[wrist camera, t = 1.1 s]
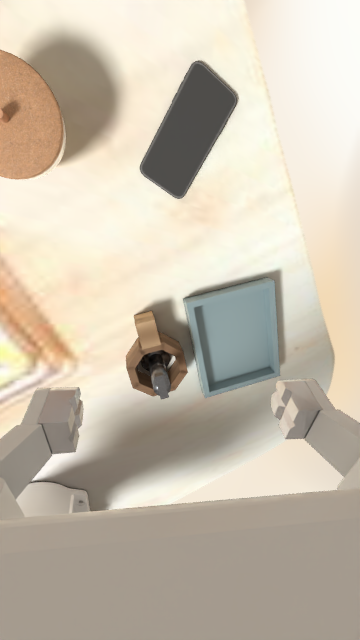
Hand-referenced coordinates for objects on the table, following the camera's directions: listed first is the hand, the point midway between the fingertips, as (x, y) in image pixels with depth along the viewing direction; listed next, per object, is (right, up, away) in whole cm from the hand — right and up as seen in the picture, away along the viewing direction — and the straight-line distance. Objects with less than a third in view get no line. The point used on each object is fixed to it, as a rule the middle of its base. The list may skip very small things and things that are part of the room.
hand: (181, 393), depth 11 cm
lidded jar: (-19, +26, +23) cm, 39 cm away
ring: (-5, -2, +37) cm, 37 cm away
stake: (-5, -4, +38) cm, 38 cm away
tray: (+9, 0, +39) cm, 40 cm away
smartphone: (+1, +28, +27) cm, 39 cm away
